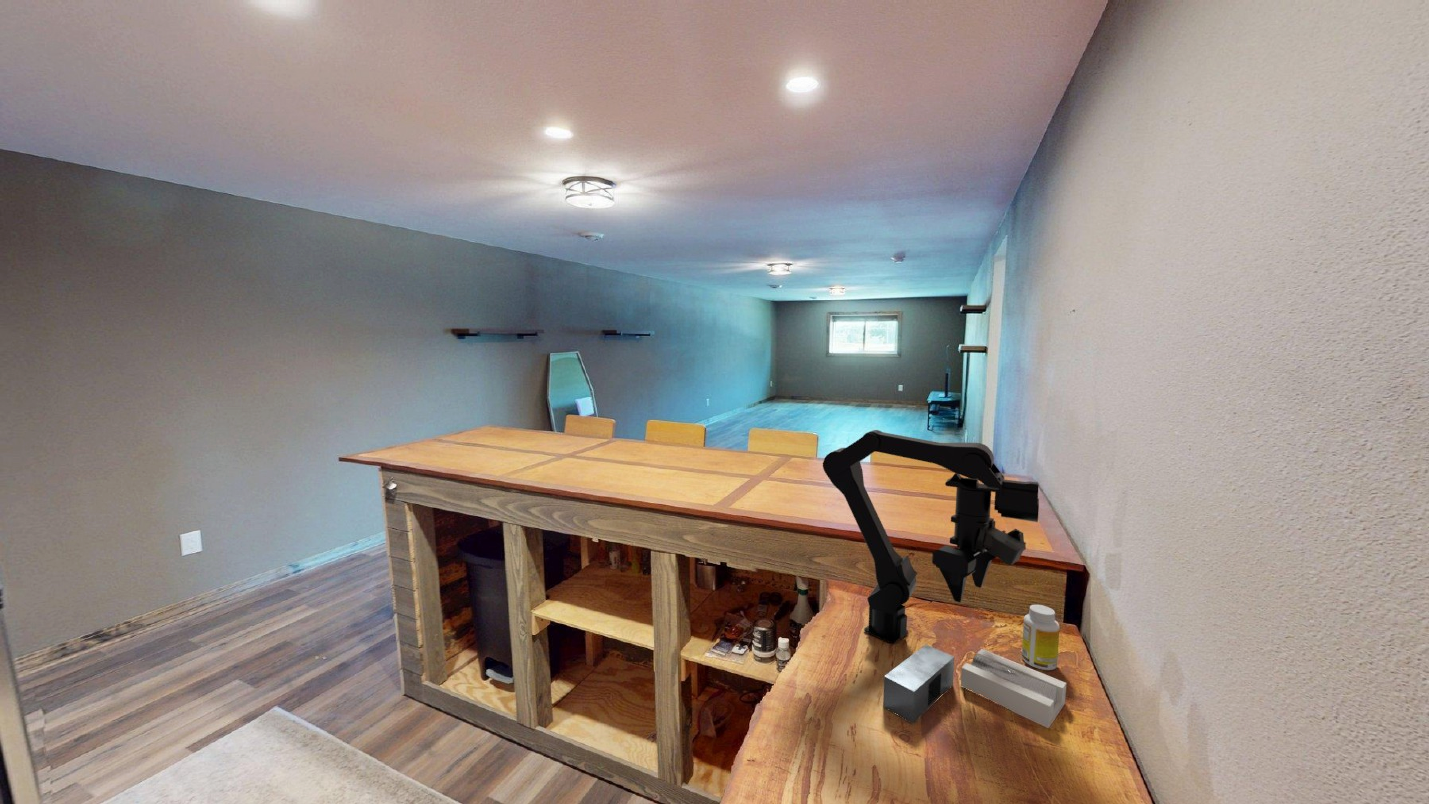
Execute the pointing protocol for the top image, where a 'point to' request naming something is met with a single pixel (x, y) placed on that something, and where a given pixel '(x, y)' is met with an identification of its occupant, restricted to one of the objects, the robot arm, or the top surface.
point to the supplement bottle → (1040, 638)
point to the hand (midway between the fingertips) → (968, 593)
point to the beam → (918, 682)
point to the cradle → (1014, 690)
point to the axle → (1016, 678)
